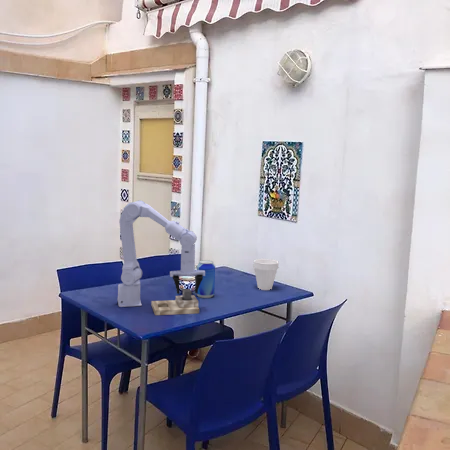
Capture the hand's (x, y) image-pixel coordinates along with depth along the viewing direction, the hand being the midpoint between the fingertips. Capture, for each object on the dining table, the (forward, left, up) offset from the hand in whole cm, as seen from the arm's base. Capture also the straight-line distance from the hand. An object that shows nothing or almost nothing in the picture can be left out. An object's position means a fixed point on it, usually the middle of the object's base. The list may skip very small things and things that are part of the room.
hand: (187, 292), depth 215 cm
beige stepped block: (-5, 0, -7) cm, 9 cm away
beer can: (+12, +18, -7) cm, 23 cm away
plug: (0, 0, -5) cm, 5 cm away
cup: (+44, +27, -7) cm, 52 cm away
